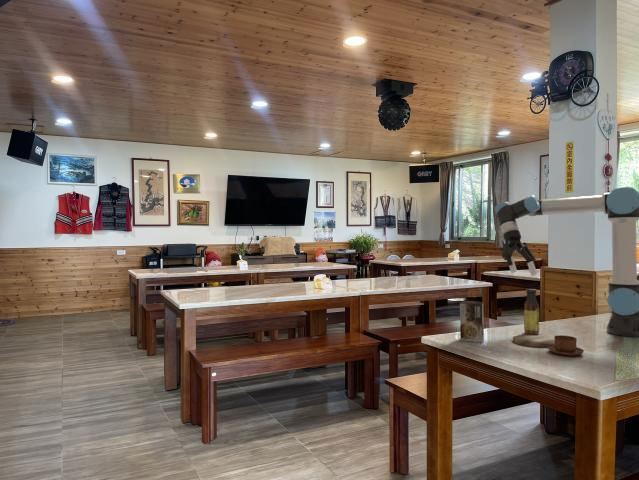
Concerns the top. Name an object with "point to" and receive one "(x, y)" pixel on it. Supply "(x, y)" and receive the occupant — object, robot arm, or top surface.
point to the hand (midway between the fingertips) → (524, 273)
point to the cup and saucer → (565, 346)
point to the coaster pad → (533, 341)
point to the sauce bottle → (531, 313)
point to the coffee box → (471, 321)
